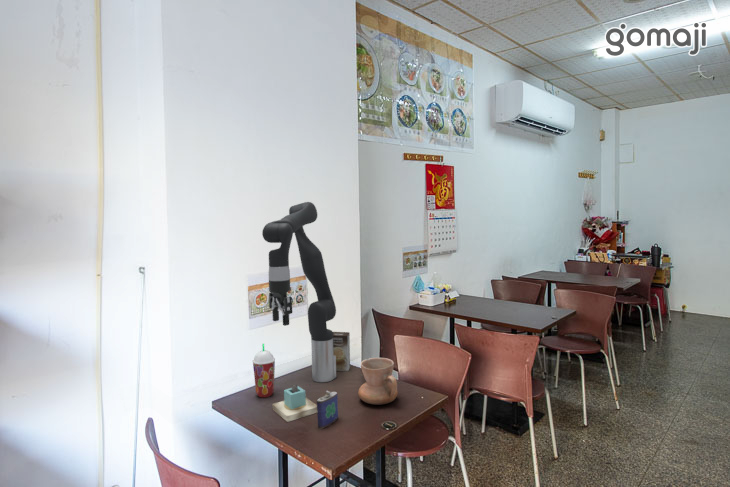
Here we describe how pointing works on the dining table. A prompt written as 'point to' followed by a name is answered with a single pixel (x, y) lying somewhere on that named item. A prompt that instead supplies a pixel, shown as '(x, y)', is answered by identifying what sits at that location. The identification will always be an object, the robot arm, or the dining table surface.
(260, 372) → the smoothie
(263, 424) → the dining table surface
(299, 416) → the shaft stand
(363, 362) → the ceramic jug
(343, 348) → the coffee box
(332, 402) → the flask
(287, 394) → the teal hollow block
